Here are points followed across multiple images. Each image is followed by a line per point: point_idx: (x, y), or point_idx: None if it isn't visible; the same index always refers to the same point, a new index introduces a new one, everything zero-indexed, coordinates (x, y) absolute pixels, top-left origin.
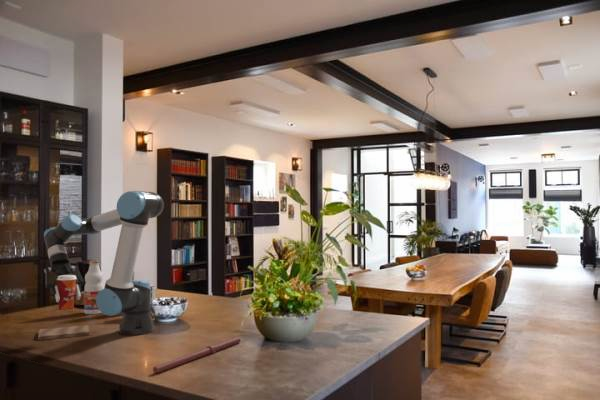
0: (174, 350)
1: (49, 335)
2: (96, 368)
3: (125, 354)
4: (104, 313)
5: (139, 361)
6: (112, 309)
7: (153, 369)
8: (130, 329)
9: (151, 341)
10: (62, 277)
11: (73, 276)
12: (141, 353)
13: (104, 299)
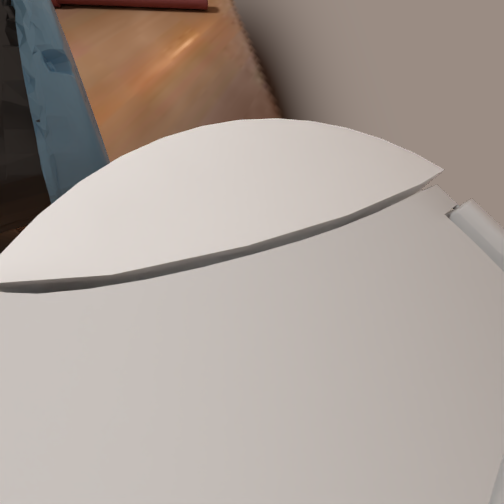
0: (85, 57)
1: None
2: (263, 82)
3: (178, 105)
4: None
5: (186, 59)
6: (91, 108)
7: (207, 2)
8: (17, 235)
9: None
10: (477, 222)
11: (188, 130)
12: (149, 88)
13: (83, 93)
